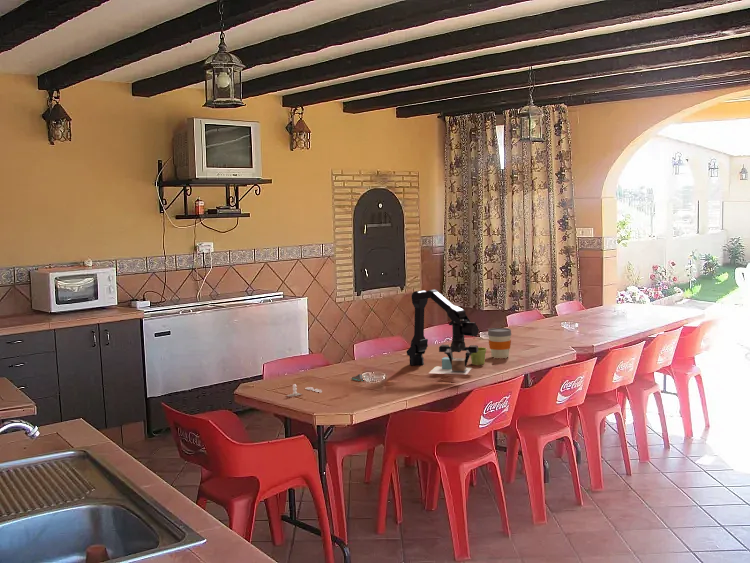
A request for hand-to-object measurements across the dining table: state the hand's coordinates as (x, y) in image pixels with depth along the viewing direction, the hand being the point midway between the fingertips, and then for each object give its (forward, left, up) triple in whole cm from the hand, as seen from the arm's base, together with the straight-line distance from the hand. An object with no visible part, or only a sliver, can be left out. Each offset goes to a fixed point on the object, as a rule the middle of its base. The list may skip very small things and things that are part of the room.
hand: (459, 365), depth 377 cm
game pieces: (-56, -39, -4) cm, 68 cm away
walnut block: (0, 0, -2) cm, 2 cm away
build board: (-4, +1, -4) cm, 6 cm away
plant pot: (+6, +19, -4) cm, 20 cm away
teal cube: (-7, +6, -3) cm, 10 cm away
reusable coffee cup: (+14, +42, -4) cm, 44 cm away
